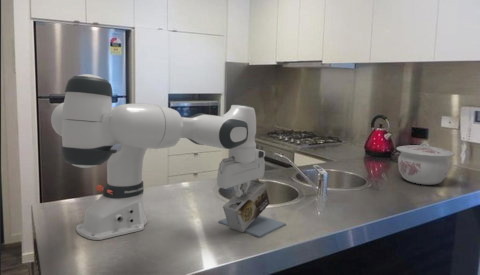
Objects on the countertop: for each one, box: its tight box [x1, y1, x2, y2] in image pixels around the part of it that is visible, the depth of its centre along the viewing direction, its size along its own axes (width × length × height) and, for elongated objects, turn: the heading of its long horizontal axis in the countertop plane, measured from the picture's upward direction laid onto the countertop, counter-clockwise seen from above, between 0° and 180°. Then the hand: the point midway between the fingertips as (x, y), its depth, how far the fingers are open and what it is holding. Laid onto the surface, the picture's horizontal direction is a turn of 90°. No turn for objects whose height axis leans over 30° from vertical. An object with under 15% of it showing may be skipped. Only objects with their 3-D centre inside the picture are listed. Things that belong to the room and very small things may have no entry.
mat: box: [218, 214, 287, 239], centre depth 129 cm, size 15×18×1 cm
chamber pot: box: [396, 142, 456, 186], centre depth 194 cm, size 28×28×21 cm
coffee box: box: [222, 180, 270, 233], centre depth 126 cm, size 9×6×16 cm
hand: (241, 195), depth 123 cm, fingers closed
